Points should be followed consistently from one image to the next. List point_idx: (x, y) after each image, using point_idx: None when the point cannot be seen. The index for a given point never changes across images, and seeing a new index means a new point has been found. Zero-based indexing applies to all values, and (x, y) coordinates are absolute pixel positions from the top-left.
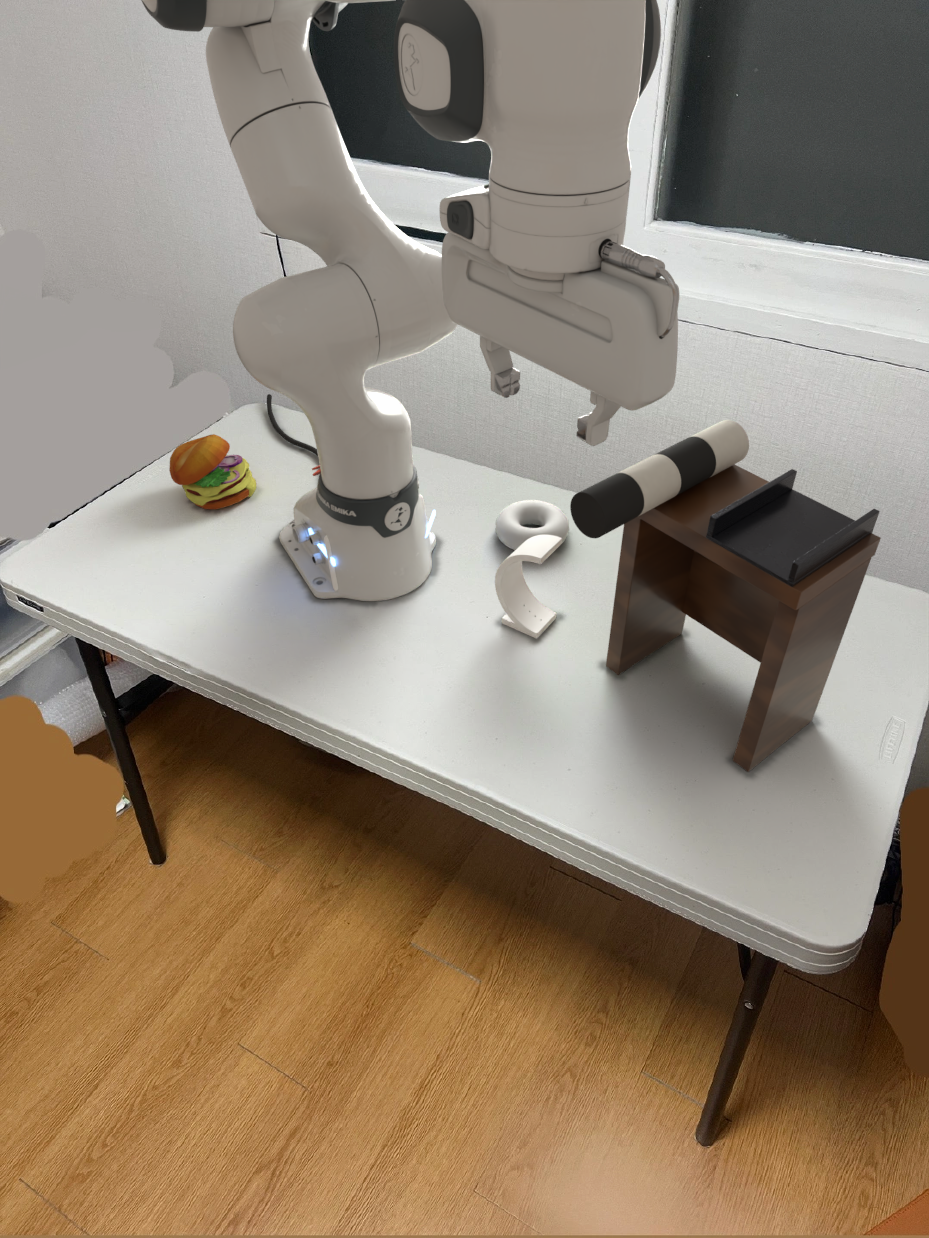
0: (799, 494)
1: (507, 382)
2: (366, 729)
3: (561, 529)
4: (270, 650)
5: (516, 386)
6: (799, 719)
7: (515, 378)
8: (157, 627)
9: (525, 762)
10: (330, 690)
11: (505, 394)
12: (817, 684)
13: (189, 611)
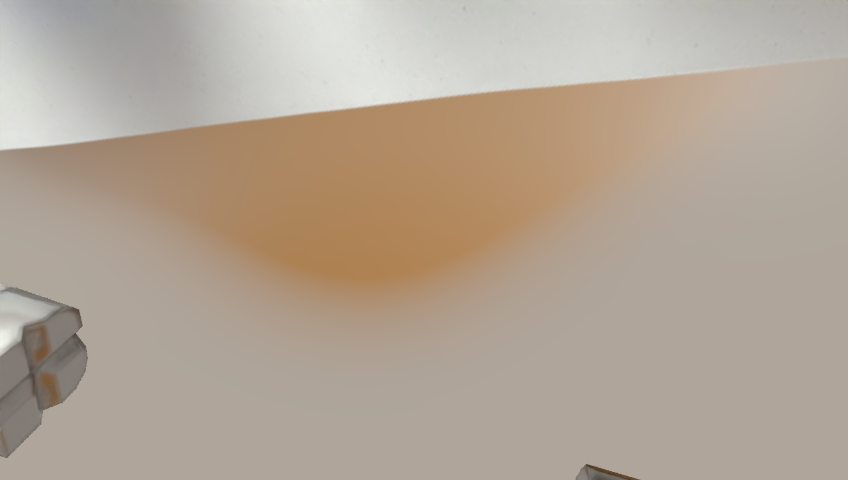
0: None
1: (26, 413)
2: (322, 102)
3: None
4: (131, 70)
5: (49, 336)
6: None
7: (14, 380)
8: (20, 124)
9: (522, 20)
10: (239, 78)
11: (74, 379)
12: None
13: (9, 80)
